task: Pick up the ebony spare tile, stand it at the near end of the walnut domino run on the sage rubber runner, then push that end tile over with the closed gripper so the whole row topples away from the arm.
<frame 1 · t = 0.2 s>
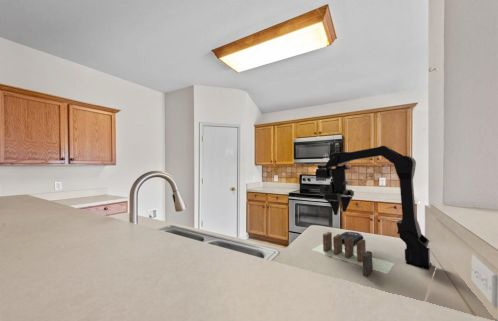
hand: (340, 213, 96), 14 cm above the counter, fingers open, 9 cm apart
domino 3: (349, 256, 82), resting on runner mat
runner mat: (349, 257, 82), on the counter
domino 4: (338, 252, 86), resting on runner mat
domino 5: (327, 249, 89), resting on runner mat
domino 2: (361, 259, 79), resting on runner mat
electronic device: (350, 241, 101), on the counter
spare tile: (368, 274, 69), on the counter
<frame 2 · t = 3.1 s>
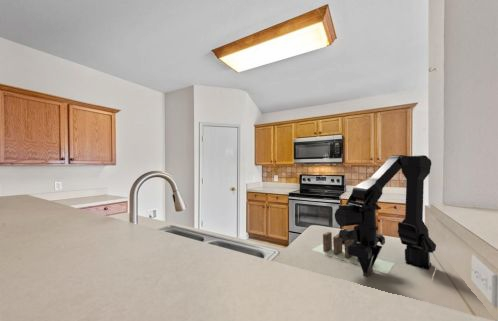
hand: (367, 270, 69), 2 cm above the counter, fingers closed on spare tile, 5 cm apart
spare tile: (368, 274, 69), on the counter, touching gripper
everything else where it was.
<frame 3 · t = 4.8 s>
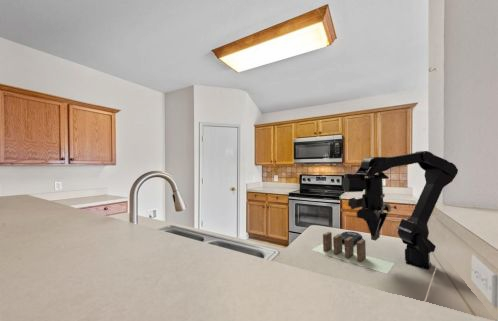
hand: (375, 234, 76), 11 cm above the counter, fingers closed on spare tile, 5 cm apart
spare tile: (375, 238, 76), point 10 cm above the counter, touching gripper
everything else where it was.
when the fingers open (3 cm above the counter, at t = 6.8 s): spare tile stays where it is, resting on runner mat.
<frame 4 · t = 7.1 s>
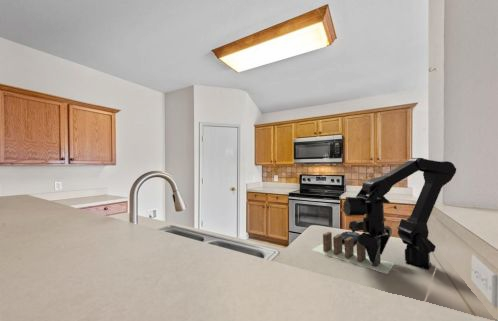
hand: (376, 258, 76), 3 cm above the counter, fingers open, 9 cm apart
spare tile: (376, 264, 76), resting on runner mat
everything else where it was.
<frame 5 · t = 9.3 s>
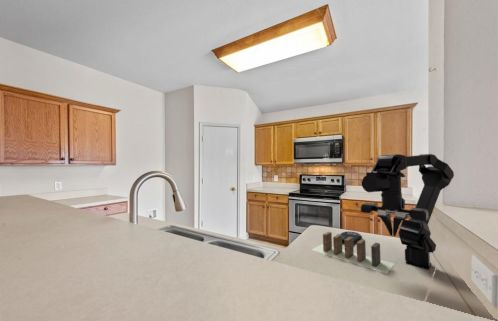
hand: (393, 235, 72), 12 cm above the counter, fingers closed
nothing on the counter moved.
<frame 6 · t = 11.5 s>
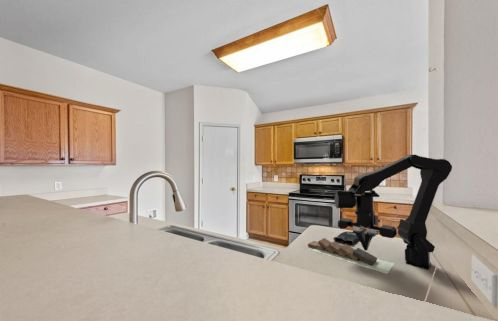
hand: (365, 250, 78), 5 cm above the counter, fingers closed
domino 3: (347, 254, 83), point 1 cm above the counter, tilted 71°, touching domino 2, domino 4, runner mat
domino 4: (336, 250, 86), point 1 cm above the counter, tilted 69°, touching domino 3, domino 5, runner mat
domino 5: (325, 246, 90), point 1 cm above the counter, tilted 95°, touching domino 4
domino 2: (359, 257, 80), point 1 cm above the counter, tilted 72°, touching domino 3, runner mat, spare tile
spare tile: (374, 261, 76), point 1 cm above the counter, tilted 73°, touching domino 2, runner mat
everything else where it was.
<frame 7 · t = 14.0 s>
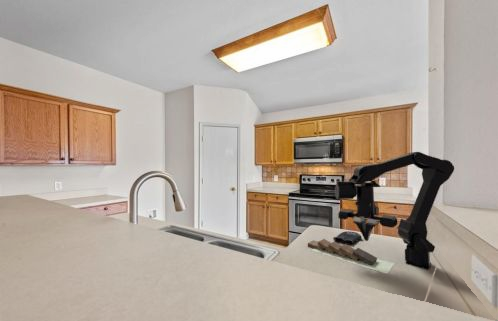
hand: (366, 240, 78), 8 cm above the counter, fingers closed
domino 5: (325, 247, 90), point 1 cm above the counter, tilted 90°, touching domino 4, runner mat
everything else where it was.
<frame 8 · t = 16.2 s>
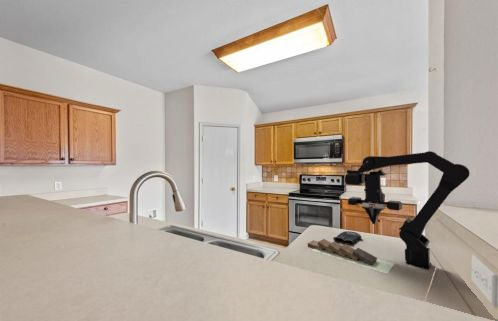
hand: (374, 224, 86), 12 cm above the counter, fingers closed
nothing on the counter moved.
at the end: domino 5 tilted 90°; spare tile tilted 73°; spare tile inside the target area (2.0 cm from its centre), point 1.1 cm above the counter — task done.
